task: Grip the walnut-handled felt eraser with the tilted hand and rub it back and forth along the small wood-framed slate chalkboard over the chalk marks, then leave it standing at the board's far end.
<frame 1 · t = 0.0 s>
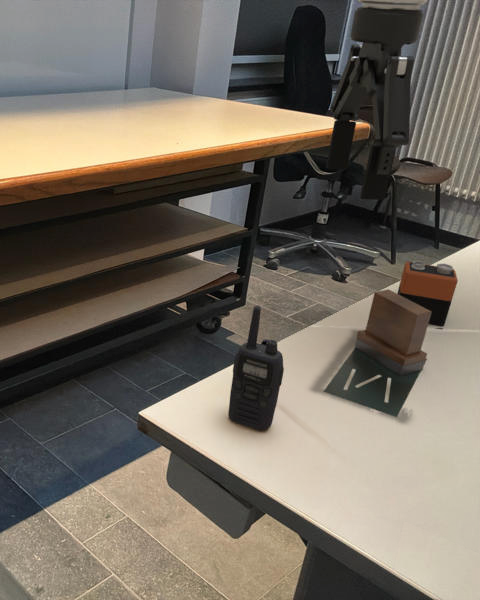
hand: (352, 182, 89), 23 cm above the table, tool pointing down, fingers open, 13 cm apart
two-way radio: (250, 420, 79), on the table
eraser: (387, 358, 90), point 1 cm above the table, touching chalkboard
battery: (415, 326, 102), on the table
chalkboard: (375, 381, 87), on the table
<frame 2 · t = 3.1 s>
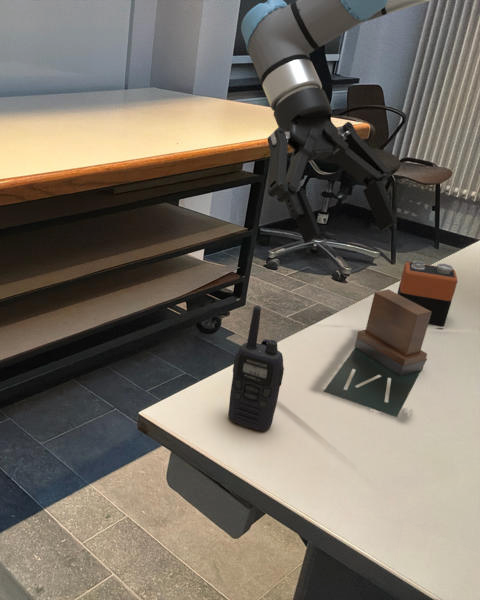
hand: (352, 232, 92), 15 cm above the table, tool tilted 45°, fingers open, 13 cm apart
nothing on the table moved.
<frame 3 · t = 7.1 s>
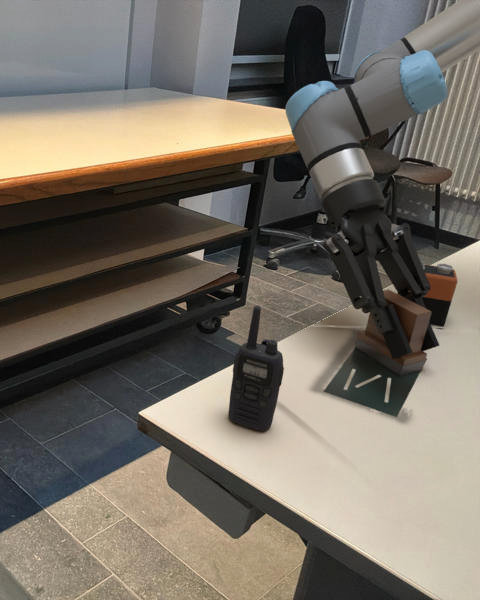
hand: (416, 352, 86), 4 cm above the table, tool tilted 45°, fingers closed on eraser, 4 cm apart
eraser: (387, 358, 90), point 1 cm above the table, touching chalkboard, gripper
everything else where it was.
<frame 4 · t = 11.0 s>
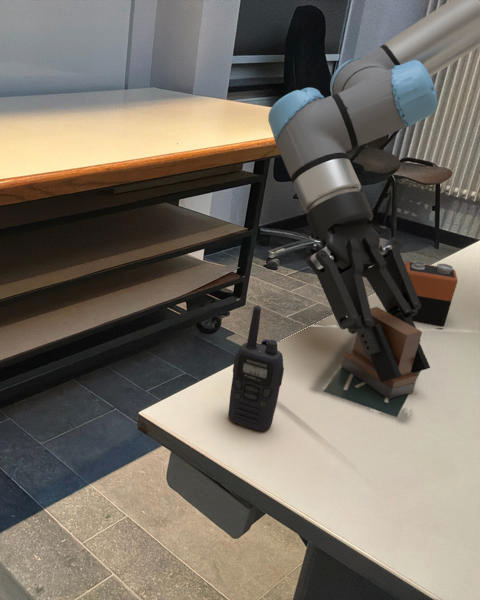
hand: (405, 374, 81), 4 cm above the table, tool tilted 45°, fingers closed on eraser, 4 cm apart
eraser: (376, 379, 86), point 1 cm above the table, touching gripper
everything else where it was.
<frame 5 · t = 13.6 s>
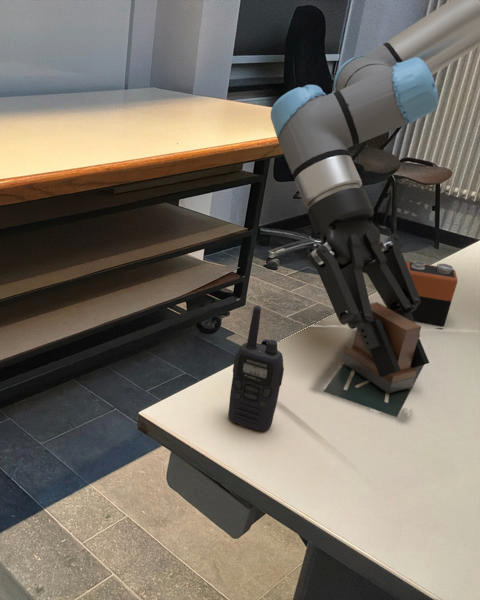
hand: (404, 369, 82), 4 cm above the table, tool tilted 45°, fingers closed on eraser, 4 cm apart
eraser: (375, 374, 86), point 1 cm above the table, touching gripper
everything else where it was.
when the fingers open (4 cm above the table, at t = 15.0 s): eraser stays where it is, resting on chalkboard.
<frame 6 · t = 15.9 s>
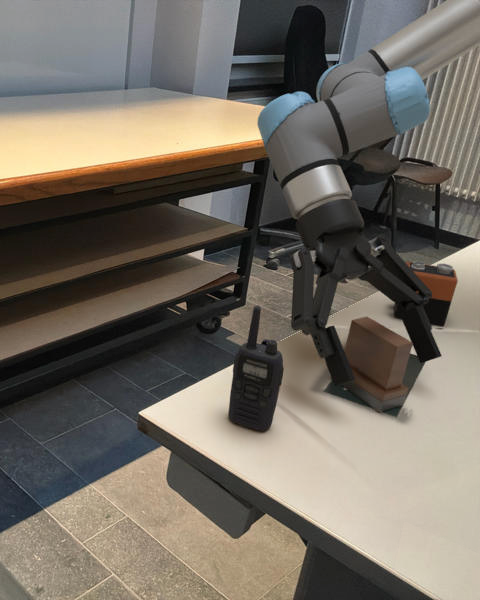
hand: (389, 371, 79), 5 cm above the table, tool tilted 45°, fingers open, 13 cm apart
eraser: (366, 391, 83), point 1 cm above the table, touching chalkboard
everything else where it was.
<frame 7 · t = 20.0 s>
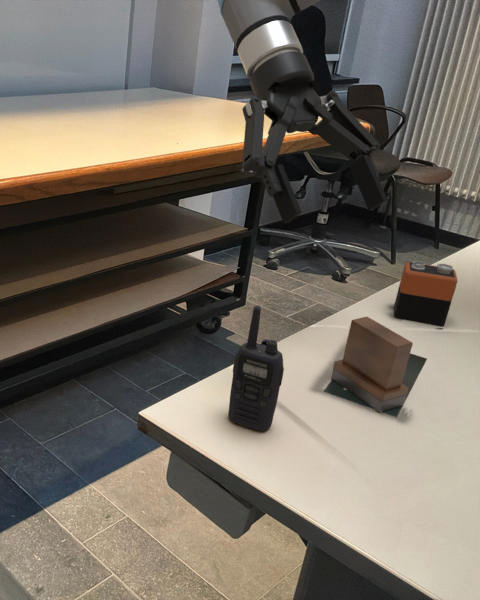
hand: (336, 211, 83), 21 cm above the table, tool tilted 45°, fingers open, 13 cm apart
nothing on the table moved.
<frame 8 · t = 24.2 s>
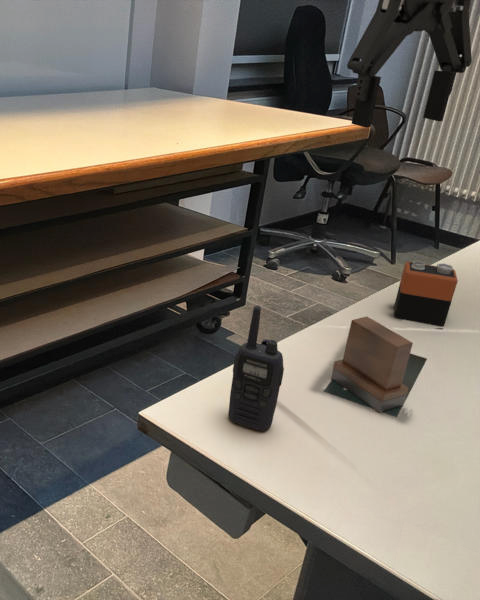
hand: (397, 122, 94), 29 cm above the table, tool pointing down, fingers open, 13 cm apart
nothing on the table moved.
at the end: eraser 0.2 cm from the target spot on the chalkboard, point 1.2 cm above the chalkboard's base; eraser tilted 0°; the gripper is holding nothing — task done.
